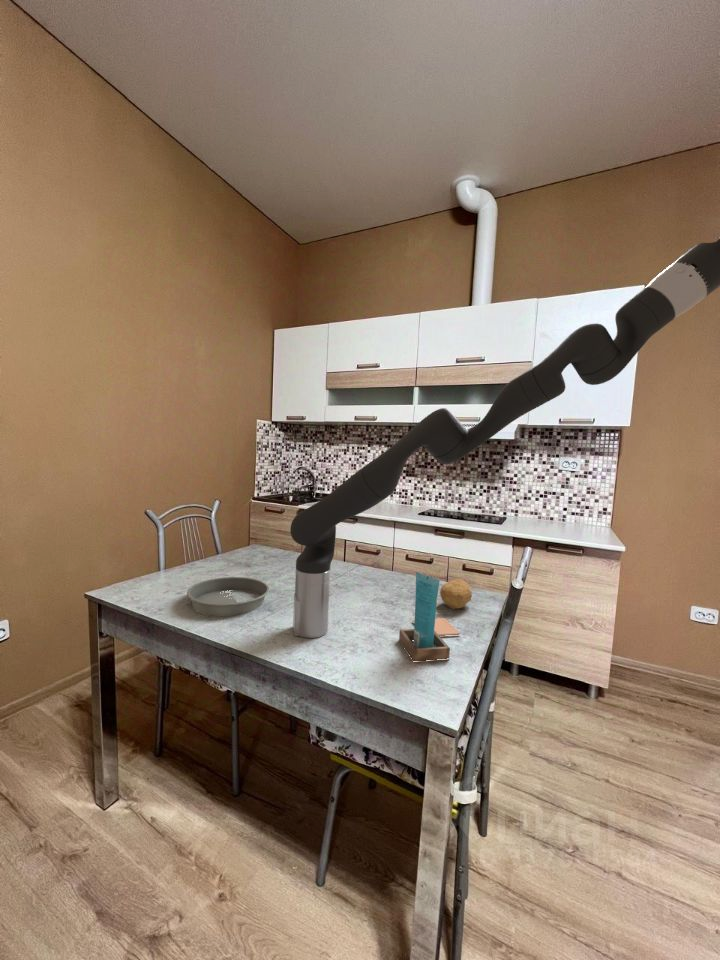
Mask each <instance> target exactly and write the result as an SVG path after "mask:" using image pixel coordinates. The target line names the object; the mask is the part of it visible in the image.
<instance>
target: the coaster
mask: <svg viewBox="0 0 720 960" xmlns="http://www.w3.org/2000/svg"><path fill="white" fill-rule="evenodd" d="M413 622H414V623H415V619H412V623H413ZM414 623H413V624H414ZM434 631H435V632H436V633H437V634H438V635H439V636H445V635H459V634H460V632H459V631H458V630H457V628H455V627H454V626H453V625H452V624H451V623H450V622H449V621H448V620H447V619H446V618H443V617H440V618H435V627H434ZM460 635H461V634H460Z"/></svg>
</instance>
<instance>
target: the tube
mask: <svg viewBox="0 0 720 960" xmlns="http://www.w3.org/2000/svg"><path fill="white" fill-rule="evenodd" d="M440 581H441V580H440V579H438V578H435V577H432V576H429V575H426V574H423V573H421V572H418V571H415V601H414V602H415V603H414V606H415V607H414V620H415V623H413V625H414V627H413V629H414V641H413V645H414V646H415V648H416V649H417V648H432V647H434V645H433V641H434V627H435V619H436V617H437V615H436V613H437V604H438V596H439V595H438V594H439V589H440V588H439V587H440Z"/></svg>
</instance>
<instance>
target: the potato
mask: <svg viewBox="0 0 720 960" xmlns="http://www.w3.org/2000/svg"><path fill="white" fill-rule="evenodd" d="M439 594H440V598H441V600H442V601H443V603H444V604H445V605H446V606H447V607H449V608H451V609H453V608H457V609H461V608H463V607H465V606H466V605H467V604H468V603H469V602H470V601H471V600H472V597H473V594H472V589H471V587H470V585H469V583H467V582H466V581H465V580H463V579H461V578H456V579H455V578H454V579H452V580H450V581H448V582H446V583H444V584H443V585H442V586H441V588H440V590H439Z"/></svg>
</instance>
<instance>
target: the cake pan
mask: <svg viewBox="0 0 720 960" xmlns="http://www.w3.org/2000/svg"><path fill="white" fill-rule="evenodd" d="M227 590H228V591H229V590H237V591H240V590H242V591H243V592H249V591H250V593H253V594H256V595H257V597H254V598H252V599H249V600H244V601H243V600H242V601H237V600H236V599H235V598H234V597H233V596H232V594H233V592H232V593H231V596H229V594H230V593H225V591H227ZM222 591H224V593H223V592H222ZM220 592H221V594H220ZM269 592H270V586H269V585H268V584H267V582H265V581H262V580H260V579H257V578H254V577H253V578H252V577H244V576H226V577H225V576H224V577H216V578H210V579H206V580H203V581H200V582H197V583H196V584H194V585H191V586H190V587H189V588H188V590H187V591H186V596H187V597H188V599H189V600H191V605H192V606H191V607H192V608H193V610H195V611H196V610H197V611H198V613H200V612H201V613H200V614H202V613H204V614H203V615H206V614H207V615H208V616H213V615H214V617H215V616H217V617H218V616H219V617H225V616H226V617H229V616H237V615H242V614H247V613H249V612H252V611H254V610H257V609H259V608H260V607H261V606H262V605H263V603H265V598H266V596H267V595H268V594H269ZM222 593H223V594H222ZM227 595H228V597H226V596H227ZM224 596H225V597H224ZM229 598H230V599H229ZM231 598H232V599H231ZM197 611H196V612H197Z"/></svg>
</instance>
